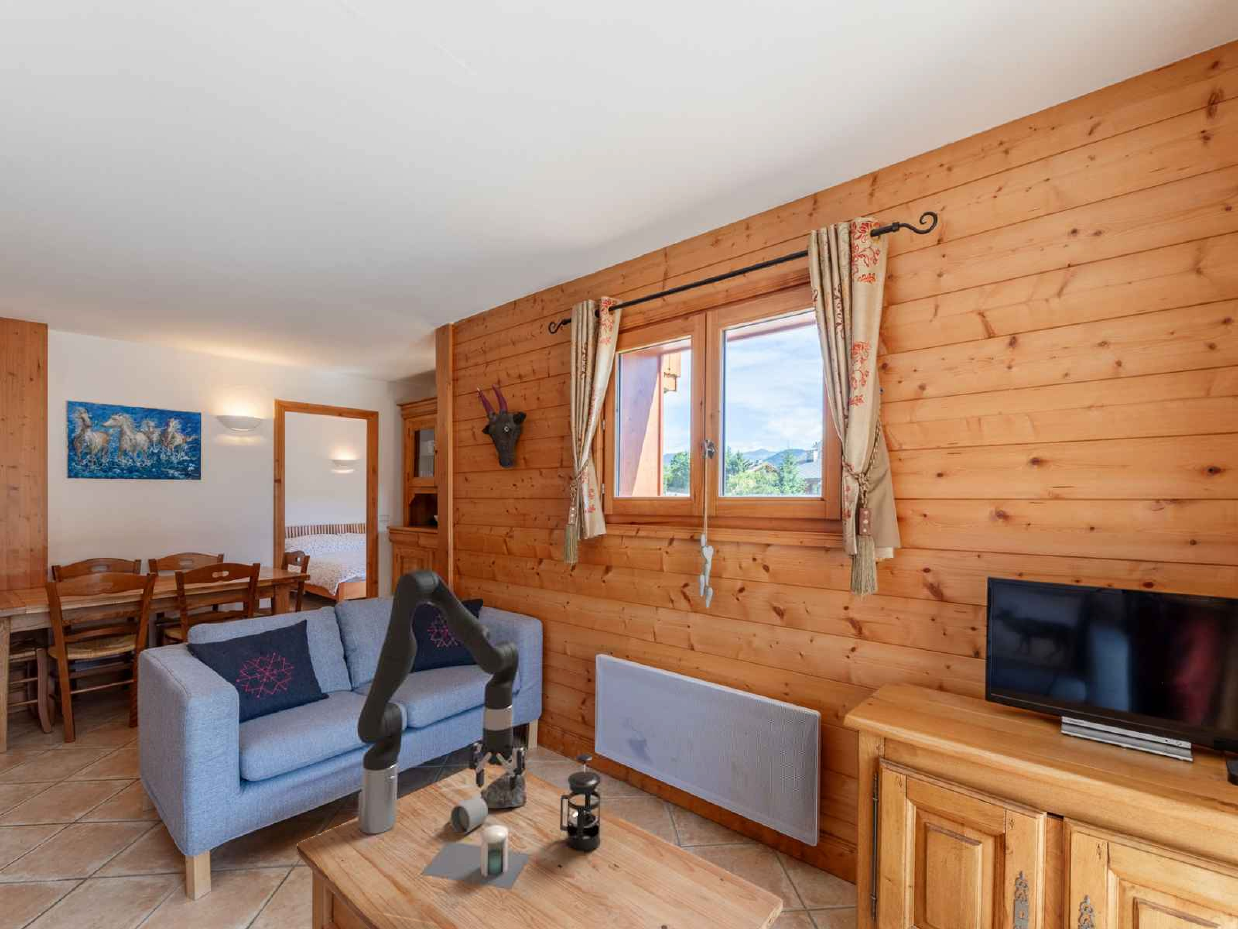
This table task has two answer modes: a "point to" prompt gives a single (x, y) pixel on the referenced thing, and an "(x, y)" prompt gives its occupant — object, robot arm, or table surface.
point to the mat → (473, 866)
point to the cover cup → (494, 845)
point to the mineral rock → (504, 792)
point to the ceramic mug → (469, 814)
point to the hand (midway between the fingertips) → (496, 788)
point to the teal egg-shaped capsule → (494, 862)
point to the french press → (582, 810)
